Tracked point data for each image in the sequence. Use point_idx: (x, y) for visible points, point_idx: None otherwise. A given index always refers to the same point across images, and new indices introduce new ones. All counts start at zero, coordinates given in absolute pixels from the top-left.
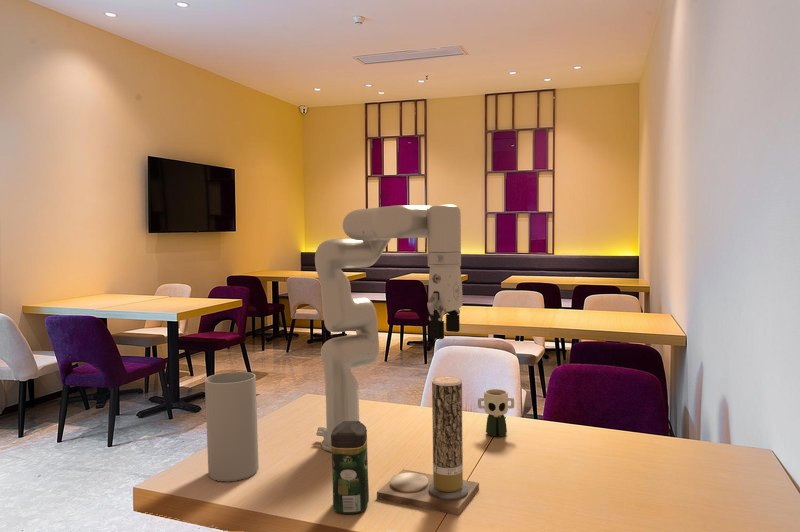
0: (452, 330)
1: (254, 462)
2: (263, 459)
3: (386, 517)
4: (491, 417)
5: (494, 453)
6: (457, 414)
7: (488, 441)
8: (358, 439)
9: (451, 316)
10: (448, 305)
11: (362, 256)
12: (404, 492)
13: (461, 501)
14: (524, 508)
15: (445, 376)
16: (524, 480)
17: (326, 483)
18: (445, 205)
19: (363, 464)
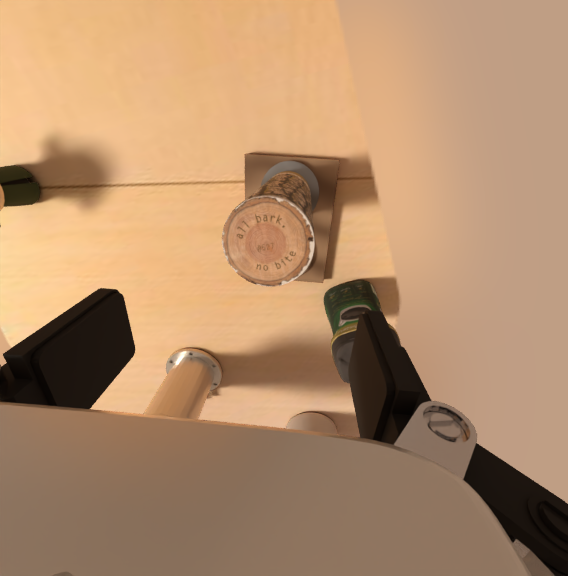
0: (126, 324)
1: (310, 422)
2: (270, 420)
3: (368, 250)
4: (5, 196)
5: (104, 166)
6: (294, 189)
7: (62, 190)
8: (394, 336)
9: (62, 394)
10: (508, 559)
11: None
12: (314, 250)
13: (317, 162)
14: (286, 54)
15: (229, 260)
16: (182, 81)
17: (303, 344)
18: None
19: (372, 309)
